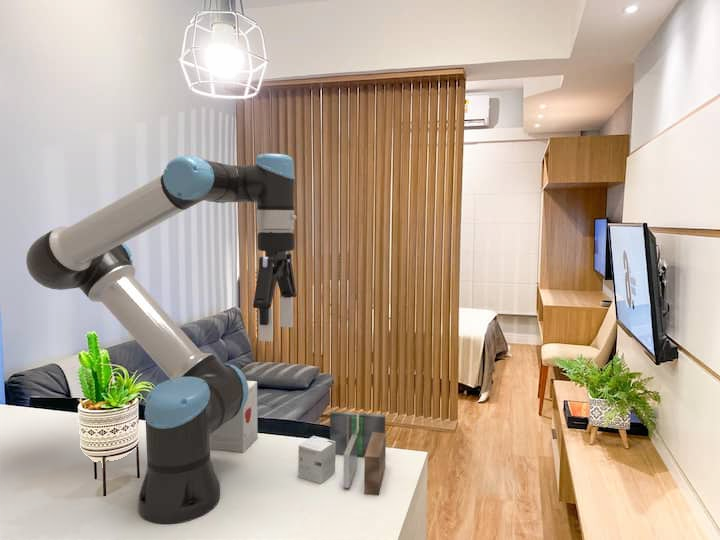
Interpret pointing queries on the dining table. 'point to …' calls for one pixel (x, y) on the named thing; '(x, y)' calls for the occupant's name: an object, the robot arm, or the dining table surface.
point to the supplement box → (238, 426)
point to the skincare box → (316, 459)
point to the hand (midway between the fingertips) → (276, 333)
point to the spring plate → (351, 457)
